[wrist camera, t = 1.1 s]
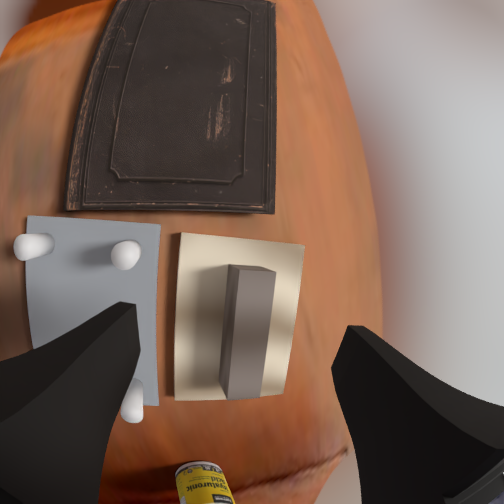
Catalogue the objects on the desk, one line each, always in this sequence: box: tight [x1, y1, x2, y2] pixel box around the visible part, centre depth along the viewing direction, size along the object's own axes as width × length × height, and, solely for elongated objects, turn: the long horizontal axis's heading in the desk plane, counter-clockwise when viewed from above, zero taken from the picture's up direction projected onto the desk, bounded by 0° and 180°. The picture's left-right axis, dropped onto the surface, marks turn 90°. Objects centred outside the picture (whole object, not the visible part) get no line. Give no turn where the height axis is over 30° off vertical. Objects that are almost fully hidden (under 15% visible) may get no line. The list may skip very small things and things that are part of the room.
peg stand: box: [14, 216, 161, 423], centre depth 16 cm, size 15×11×5 cm
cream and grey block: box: [174, 232, 305, 400], centre depth 20 cm, size 14×10×4 cm
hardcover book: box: [63, 0, 277, 214], centre depth 18 cm, size 16×23×2 cm
